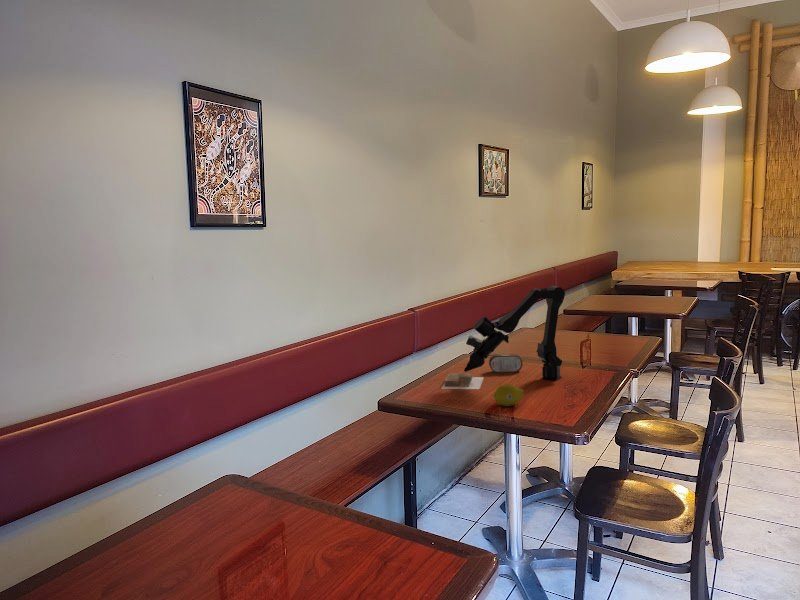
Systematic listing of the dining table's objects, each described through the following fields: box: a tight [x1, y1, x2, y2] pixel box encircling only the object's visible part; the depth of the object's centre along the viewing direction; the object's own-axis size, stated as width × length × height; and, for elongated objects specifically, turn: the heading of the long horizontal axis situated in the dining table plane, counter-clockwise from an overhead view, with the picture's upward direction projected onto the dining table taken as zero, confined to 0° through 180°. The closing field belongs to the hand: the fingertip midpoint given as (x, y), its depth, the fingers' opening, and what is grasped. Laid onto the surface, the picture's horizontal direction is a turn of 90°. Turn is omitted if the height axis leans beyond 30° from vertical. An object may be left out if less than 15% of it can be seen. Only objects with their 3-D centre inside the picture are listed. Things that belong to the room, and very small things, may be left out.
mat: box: [440, 376, 484, 390], centre depth 247 cm, size 16×18×1 cm
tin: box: [488, 353, 524, 373], centre depth 261 cm, size 15×3×8 cm, turn 84°
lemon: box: [492, 383, 524, 407], centre depth 213 cm, size 11×8×8 cm
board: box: [444, 372, 473, 387], centre depth 247 cm, size 2×12×10 cm
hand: (466, 368), depth 245 cm, fingers open, 9 cm apart
